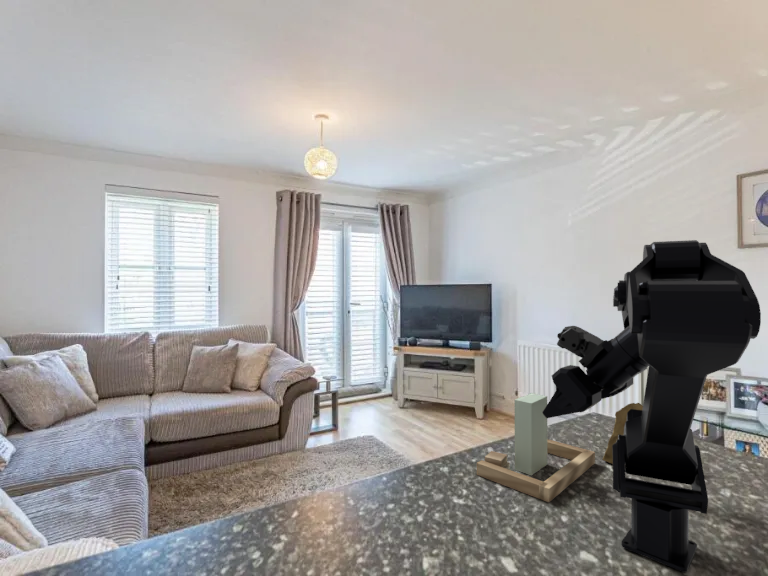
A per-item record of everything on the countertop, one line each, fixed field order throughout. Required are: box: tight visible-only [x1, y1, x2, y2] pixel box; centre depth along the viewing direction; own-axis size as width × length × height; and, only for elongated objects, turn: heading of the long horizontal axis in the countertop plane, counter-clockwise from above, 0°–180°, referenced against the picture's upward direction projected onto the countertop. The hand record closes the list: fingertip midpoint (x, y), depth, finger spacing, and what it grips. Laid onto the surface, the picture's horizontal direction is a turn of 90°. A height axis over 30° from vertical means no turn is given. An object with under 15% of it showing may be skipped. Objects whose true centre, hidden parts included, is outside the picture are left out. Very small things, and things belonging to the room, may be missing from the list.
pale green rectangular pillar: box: [514, 392, 548, 476], centre depth 72 cm, size 6×3×12 cm, turn 134°
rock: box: [602, 402, 643, 465], centre depth 76 cm, size 11×9×10 cm
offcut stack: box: [484, 450, 511, 470], centre depth 71 cm, size 4×3×2 cm
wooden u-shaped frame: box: [476, 438, 596, 503], centre depth 71 cm, size 18×12×2 cm, turn 134°
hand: (557, 409), depth 68 cm, fingers open, 9 cm apart
